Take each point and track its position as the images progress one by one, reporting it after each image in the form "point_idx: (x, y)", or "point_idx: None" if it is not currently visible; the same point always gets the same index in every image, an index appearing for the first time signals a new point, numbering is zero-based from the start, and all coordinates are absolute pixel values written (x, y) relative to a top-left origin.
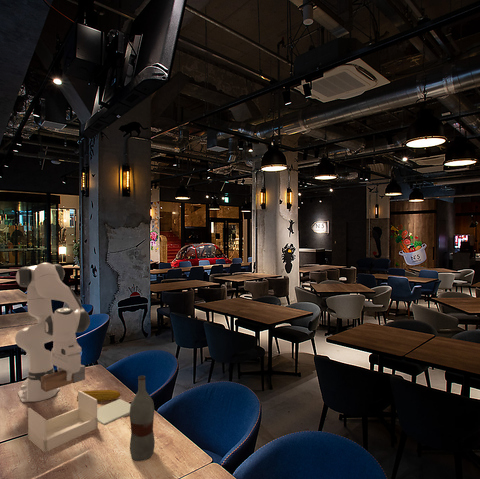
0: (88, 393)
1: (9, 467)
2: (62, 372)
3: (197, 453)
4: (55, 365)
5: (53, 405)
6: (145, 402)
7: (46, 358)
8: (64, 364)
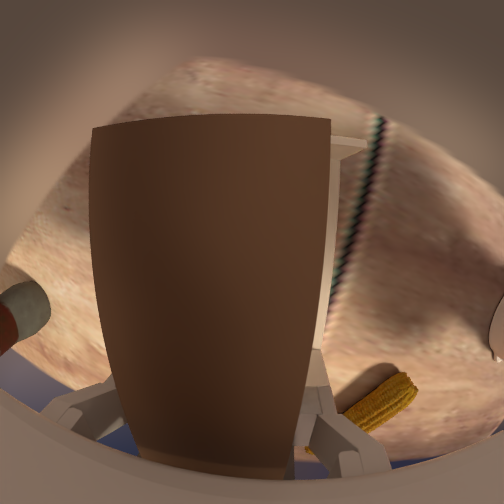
0: (382, 409)
1: (213, 68)
2: (201, 428)
3: None
4: (408, 471)
5: (456, 318)
6: None
7: None
8: (10, 479)
